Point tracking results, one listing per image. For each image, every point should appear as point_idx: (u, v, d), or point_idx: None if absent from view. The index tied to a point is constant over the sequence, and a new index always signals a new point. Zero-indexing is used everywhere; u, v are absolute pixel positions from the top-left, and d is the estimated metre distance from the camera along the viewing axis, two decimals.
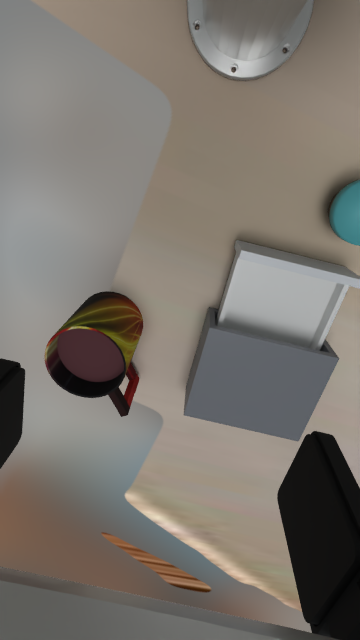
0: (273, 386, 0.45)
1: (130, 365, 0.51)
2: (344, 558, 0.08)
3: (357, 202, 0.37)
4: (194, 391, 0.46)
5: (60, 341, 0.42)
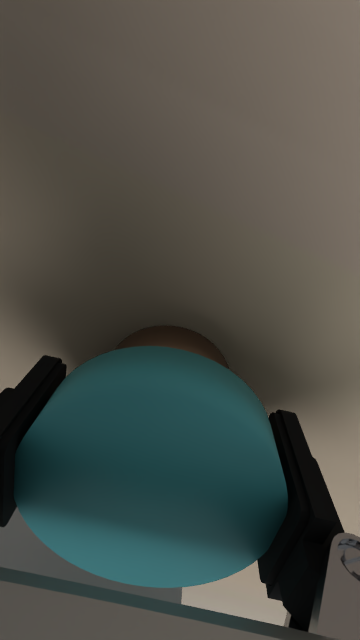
0: None
1: None
2: (292, 519, 0.08)
3: (85, 467, 0.08)
4: None
5: None
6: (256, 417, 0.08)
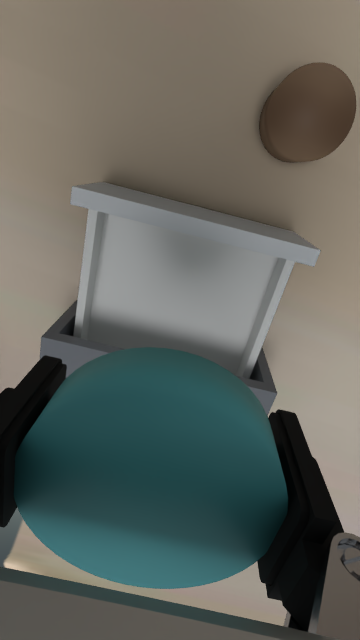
0: None
1: None
2: (292, 519, 0.08)
3: (85, 469, 0.08)
4: None
5: None
6: (256, 418, 0.08)
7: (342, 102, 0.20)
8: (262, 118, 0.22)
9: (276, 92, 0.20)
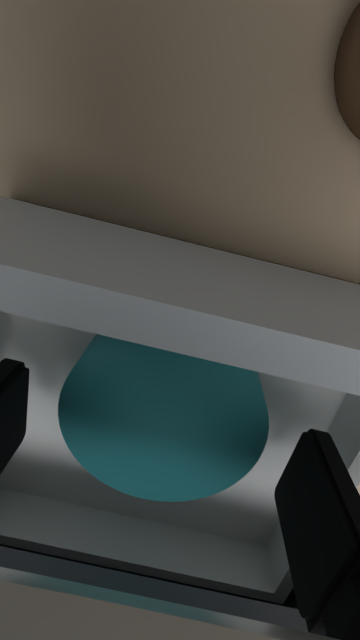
0: None
1: None
2: (339, 553, 0.08)
3: (115, 397, 0.11)
4: None
5: None
6: None
7: None
8: (351, 46, 0.09)
9: None
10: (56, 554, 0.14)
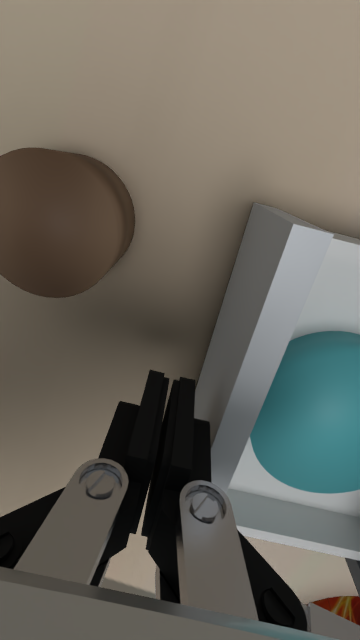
0: None
1: None
2: (158, 470, 0.08)
3: (305, 458, 0.14)
4: None
5: None
6: (282, 363, 0.13)
7: (18, 176, 0.11)
8: None
9: (24, 288, 0.13)
10: None
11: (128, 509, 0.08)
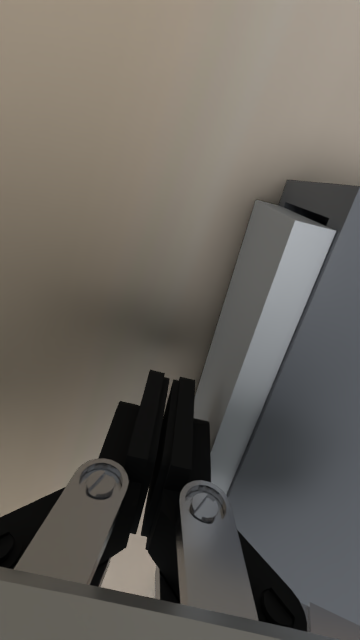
0: None
1: None
2: (158, 470, 0.08)
3: None
4: None
5: None
6: None
7: None
8: None
9: None
10: None
11: (128, 509, 0.08)
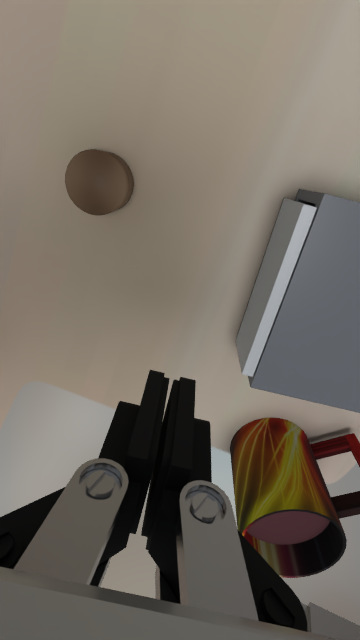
0: None
1: (329, 443, 0.39)
2: (158, 470, 0.08)
3: None
4: (356, 407, 0.31)
5: (268, 540, 0.36)
6: None
7: (85, 161, 0.27)
8: None
9: (85, 211, 0.29)
10: None
11: (128, 509, 0.08)
